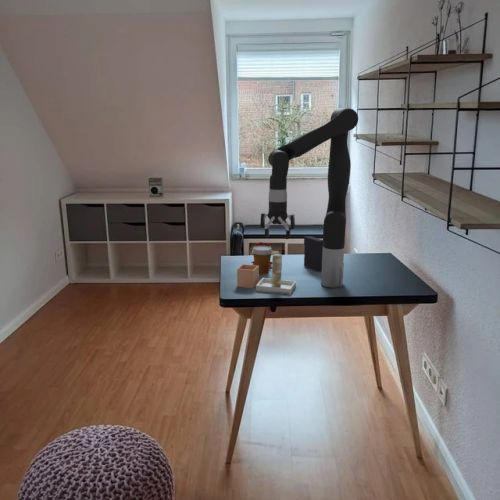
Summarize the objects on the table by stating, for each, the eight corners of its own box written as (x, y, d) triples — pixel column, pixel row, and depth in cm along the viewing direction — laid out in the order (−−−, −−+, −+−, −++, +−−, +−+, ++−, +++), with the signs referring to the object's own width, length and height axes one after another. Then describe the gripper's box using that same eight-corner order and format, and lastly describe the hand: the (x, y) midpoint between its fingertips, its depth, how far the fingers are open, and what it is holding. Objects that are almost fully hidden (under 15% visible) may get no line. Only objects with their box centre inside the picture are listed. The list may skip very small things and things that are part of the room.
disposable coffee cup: (270, 276, 234) (270, 251, 230) (250, 274, 235) (250, 249, 232) (273, 270, 243) (273, 246, 239) (253, 268, 244) (254, 244, 241)
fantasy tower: (274, 262, 255) (275, 239, 252) (273, 269, 244) (273, 245, 241) (251, 261, 256) (251, 238, 253) (249, 268, 245) (249, 244, 242)
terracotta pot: (258, 282, 224) (258, 265, 222) (253, 288, 217) (254, 270, 215) (242, 281, 226) (242, 264, 224) (237, 286, 219) (237, 268, 217)
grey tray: (295, 286, 220) (295, 281, 219) (290, 294, 210) (290, 289, 209) (262, 282, 224) (262, 277, 224) (255, 290, 214) (255, 285, 213)
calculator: (324, 270, 243) (325, 240, 239) (317, 271, 241) (319, 241, 237) (309, 264, 252) (310, 235, 248) (302, 266, 250) (304, 236, 246)
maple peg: (281, 285, 218) (283, 254, 214) (279, 288, 214) (280, 257, 211) (272, 284, 219) (273, 253, 216) (270, 287, 216) (271, 256, 212)
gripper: (296, 199, 208) (295, 237, 213) (263, 197, 212) (263, 235, 217) (292, 202, 201) (292, 241, 206) (258, 200, 205) (258, 239, 210)
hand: (277, 238), depth 211 cm, fingers open, 8 cm apart
